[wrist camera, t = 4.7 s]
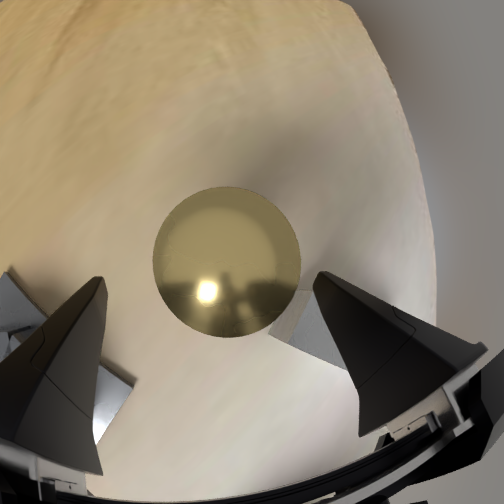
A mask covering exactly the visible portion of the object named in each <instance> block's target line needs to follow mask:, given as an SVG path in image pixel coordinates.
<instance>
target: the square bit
mask: <svg viewBox="0 0 504 504" xmlns="http://www.w3.org/2000/svg"><path fill="white" fill-rule="evenodd" d="M268 334H269V335H271V336H273V337H275V338H277V339H279V340H281V341H283V342H285V343H287V344H289V345H291V346H293V347H295V348H298V349H300V350H302V351H304V352H306V353H308V354H311V355H313V356H315V357H317V358H319V359H322V360H324V361H326V362H328V363H331V364H333V365H335V366H338V367H340V368H342V369H345V370H347V368H346V366H345V363H344V361H343V359H342V357H341V355H340V353H339V350H338V348H337V346H336V344H335V342H334V340H333V338H332V336H331V334H330V331H329V329H328V327H327V325H326V323H325V321H324V319H323V317H322V314H321V312H320V309H319V306H318V303H317V300H316V298H315V295H314V292H313V290H296V291H295V294H294V296H293V298H292V300H291V302H290V303H289V305H288V306H287V308H286V309H285V310H284V312H283V313H282V314H281V315H280V316H279V317H278V318H277V319H276V320H275V321H274V323H273V325H272V327H271V329H270V331H269V333H268ZM347 371H348V370H347Z"/></svg>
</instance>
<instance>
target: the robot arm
mask: <svg viewBox="0 0 504 504" xmlns="http://www.w3.org/2000/svg"><path fill="white" fill-rule="evenodd" d="M313 292H314V295H315V298H316V300H317V303H318V306H319V309H320V312H321V314H322V317H323V319H324V321H325V323H326V325H327V327H328V329H329V331H330V334H331V336H332V338H333V340H334V342H335V344H336V346H337V348H338V350H339V353H340V355H341V357H342V359H343V361H344V363H345V366H346V368H347V370H348V372H349V374H350V376H351V379H352V381H353V383H354V385H355V388H356V389H357V392H358V395H359V432H358V435H359V437H362V436H365V435H367V434H369V433H371V432H373V431H376V430H378V429H380V428H382V427H384V426H386V425H387V428H388V430H389V433H387V434H385V435H383V436H381V437H379V440H378V443H377V445H376V448H375V451H374V452H373V453H371V454H369V455H366V456H364V457H362V458H360V459H358V460H355V461H353V462H351V463H349V464H346V465H344V466H341V467H339V468H336V469H334V470H331V471H328V472H326V473H323V474H320V475H317V476H314V477H311V478H308V479H305V480H302V481H299V482H295V483H292V484H288V485H284V486H281V487H277V488H273V489H268V490H264V491H259V492H255V493H250V494H244V495H238V496H232V497H225V498H217V499H208V500H197V501H179V502H146V501H129V500H117V499H109V498H101V497H95V496H94V495H93V494H91V493H90V492H89V491H88V490H87V487H86V479H85V473H86V474H93V475H100V476H103V471H102V468H101V464H100V460H99V456H98V452H97V448H96V444H95V439H94V434H93V415H94V402H95V392H96V383H97V375H98V368H99V361H100V354H101V348H102V343H103V337H104V332H105V324H106V311H107V300H108V292H107V288H106V284H105V280H104V278H103V277H102V276H95V277H93V278H92V279H90V280H89V281H88V282H87V283H86V284H85V285H84V286H82V287H81V288H80V289H79V290H78V291H77V292H76V293H75V294H73V295H72V296H71V297H70V298H69V299H68V300H67V301H66V302H65V303H64V304H63V305H61V306H60V307H59V308H58V309H57V310H56V311H55V312H54V313H53V314H52V315H51V316H50V317H49V318H48V319H47V320H46V321H45V322H44V323H43V324H42V325H41V326H39V327H38V328H37V329H36V330H35V331H34V332H33V333H32V334H31V335H30V336H29V337H28V338H27V339H26V340H25V341H24V342H22V343H21V344H20V345H19V346H18V347H17V348H16V349H15V350H13V351H12V352H11V353H10V354H9V355H8V356H7V357H6V358H4V359H3V360H2V361H1V362H0V504H302V503H305V502H308V501H311V500H314V499H317V498H320V497H322V496H325V495H328V494H330V493H333V492H335V493H336V495H334V497H332V498H327V499H323V500H320V501H318V502H315V503H313V504H390V502H389V500H388V498H389V497H391V496H393V495H394V494H396V493H397V492H399V491H401V490H402V489H404V488H405V487H407V486H409V485H413V484H417V483H420V482H424V481H427V480H430V479H433V478H437V477H439V476H442V475H445V474H448V473H451V472H453V471H456V470H458V469H461V468H464V467H466V466H468V465H471V464H473V463H475V462H477V461H480V460H481V459H482V458H483V456H484V455H485V454H486V453H487V452H488V451H489V449H490V448H491V447H492V446H493V445H494V443H495V442H496V441H497V440H498V438H499V437H500V436H501V434H502V433H503V432H504V349H503V350H502V351H501V352H500V353H499V354H498V355H497V356H496V357H495V358H493V359H492V360H491V361H490V362H489V363H488V364H487V365H485V367H483V368H482V369H481V370H480V371H479V370H478V368H477V366H476V364H475V363H476V362H477V361H478V360H479V359H480V358H481V357H482V356H483V355H484V354H485V353H486V352H487V351H488V348H487V347H486V346H485V345H484V344H483V343H482V342H478V343H477V344H471V343H468V342H467V341H464V340H462V339H460V338H458V337H456V336H454V335H452V334H450V333H448V332H445V331H443V330H441V329H439V328H437V327H435V326H433V325H431V324H428V323H426V322H424V321H422V320H420V319H418V318H416V317H414V316H412V315H410V314H408V313H406V312H404V311H402V310H400V309H398V308H396V307H394V306H391V305H390V304H388V303H386V302H384V301H383V300H381V299H379V298H377V297H375V296H373V295H371V294H369V293H368V292H366V291H364V290H362V289H360V288H358V287H356V286H354V285H352V284H351V283H349V282H347V281H345V280H343V279H341V278H339V277H337V276H335V275H333V274H331V273H330V272H327V271H322V272H319V273H318V274H317V277H316V279H315V281H314V283H313ZM411 504H428V502H427V501H421V502H416V503H411Z"/></svg>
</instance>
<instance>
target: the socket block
mask: <svg viewBox="0 0 504 504" xmlns="http://www.w3.org/2000/svg"><path fill="white" fill-rule="evenodd" d="M48 318H49V317H48V316H47V315H46V314H45V313H44V312H43V311H42V310H41V309H40V308H39V307H38V306H37V305H36V304H35V303H34V302H33V301H32V299H31V298H30V297H29V296H28V295H27V294H26V293H25V292H24V291H23V290H22V288H21V287H20V286H19V285H18V284H17V283H16V282H15V280H14V279H13V278H12V277H11V276H10V274H9V273H8V272H4V273H3V275H2V277H1V279H0V362H1V361H2V360H3V359H4V358H6V357H7V356H8V355H9V354H10V353H11V352H12V351H13V350H15V349H16V348H17V347H18V346H19V345H20V344H21V343H22V342H24V341H25V340H26V339H27V338H28V337H29V336H30V335H31V334H32V333H33V332H34V331H35V330H36V329H37V328H38V327H39V326H41V325H42V324H43V323H44V322H45V321H46V320H47V319H48ZM133 387H134V386H133V385H132V384H130V383H129V382H127V381H126V380H125V379H123V378H122V377H120V376H119V375H117V374H116V373H115V372H113V371H112V370H111V369H109V368H108V367H106V366H105V365H104V364H103V363H101V362H100V361H99V368H98V375H97V383H96V392H95V402H94V415H93V434H94V439H95V444H97V442H98V440H99V439H100V437H101V436H102V434H103V433H104V431H105V430H106V428H107V427H108V425H109V424H110V422H111V421H112V419H113V418H114V416H115V415H116V413H117V412H118V410H119V409H120V407H121V406H122V404H123V403H124V401H125V400H126V398H127V397H128V395H129V394H130V392H131V391H132V389H133Z"/></svg>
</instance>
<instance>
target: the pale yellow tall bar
mask: <svg viewBox="0 0 504 504" xmlns="http://www.w3.org/2000/svg"><path fill="white" fill-rule="evenodd" d="M300 271H301V257H300V249H299V245H298V241H297V238H296V235H295V233H294V231H293V229H292V227H291V225H290V223H289V222H288V220H287V219H286V217H285V216H284V215H283V214H282V212H281V211H280V210H279V209H278V208H277V207H276V206H275V205H273V204H272V203H271V202H270V201H268V200H267V199H265V198H264V197H262V196H260V195H258V194H256V193H254V192H251V191H249V190H245V189H241V188H234V187H217V188H210V189H207V190H203V191H200V192H198V193H196V194H193V195H192V196H190V197H188V198H187V199H185V200H183V201H182V202H181V203H180V204H179V205H177V206H176V207H175V208H174V209H173V210H172V211H171V213H170V214H169V215H168V216H167V218H166V219H165V221H164V222H163V224H162V226H161V228H160V230H159V232H158V235H157V238H156V241H155V246H154V251H153V272H154V277H155V281H156V284H157V287H158V290H159V293H160V294H161V296H162V298H163V300H164V302H165V303H166V305H167V306H168V308H169V309H170V310H171V311H172V312H173V314H174V315H175V316H176V317H177V318H178V319H180V320H181V321H182V322H183V323H185V324H186V325H188V326H189V327H191V328H193V329H194V330H197V331H199V332H201V333H204V334H207V335H211V336H216V337H223V338H233V337H240V336H245V335H249V334H252V333H255V332H257V331H259V330H261V329H263V328H265V327H266V326H268V325H270V324H271V323H272V322H273V321H275V320H276V319H277V318H278V317H279V316H280V315H281V314H282V313H283V312H284V310H285V309H286V308H287V306H288V305H289V303H290V302H291V300H292V298H293V296H294V294H295V291H296V289H297V286H298V282H299V278H300Z"/></svg>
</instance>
